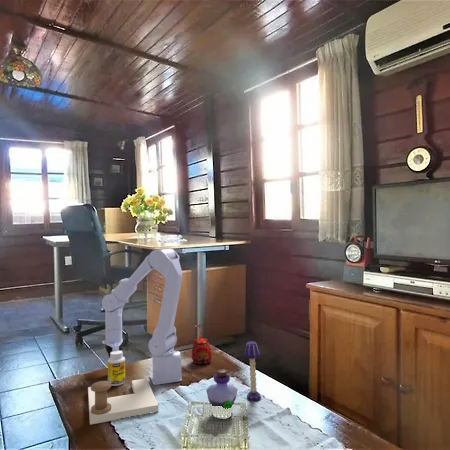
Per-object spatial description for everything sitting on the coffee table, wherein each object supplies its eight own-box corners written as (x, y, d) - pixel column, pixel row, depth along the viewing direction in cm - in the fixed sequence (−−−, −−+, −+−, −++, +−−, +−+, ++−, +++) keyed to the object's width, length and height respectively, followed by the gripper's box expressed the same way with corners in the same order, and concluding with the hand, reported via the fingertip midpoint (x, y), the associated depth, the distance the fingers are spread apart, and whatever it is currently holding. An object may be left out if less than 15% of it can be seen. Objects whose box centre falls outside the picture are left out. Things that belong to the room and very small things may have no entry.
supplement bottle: (110, 388, 123) (110, 356, 123) (105, 382, 128) (105, 351, 128) (127, 384, 126) (127, 352, 126) (122, 378, 131) (121, 348, 131)
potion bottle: (222, 426, 99) (222, 379, 99) (199, 415, 105) (199, 371, 105) (244, 414, 105) (243, 370, 105) (221, 404, 111) (221, 362, 111)
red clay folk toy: (193, 366, 142) (192, 325, 142) (190, 359, 148) (190, 321, 148) (213, 364, 143) (213, 324, 143) (209, 358, 150) (209, 319, 150)
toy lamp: (249, 403, 112) (249, 345, 112) (241, 396, 116) (241, 341, 116) (263, 399, 114) (263, 343, 114) (255, 393, 118) (254, 339, 118)
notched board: (146, 384, 125) (146, 357, 126) (158, 412, 107) (158, 380, 107) (88, 393, 119) (87, 365, 119) (89, 424, 100) (89, 391, 100)
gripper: (100, 323, 141) (101, 360, 141) (103, 334, 127) (103, 375, 127) (120, 322, 143) (120, 358, 143) (125, 332, 130) (125, 372, 130)
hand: (114, 366), depth 135 cm, fingers closed
